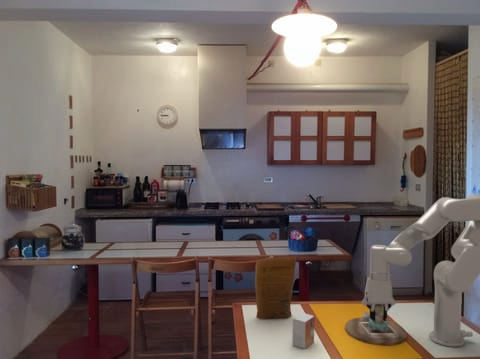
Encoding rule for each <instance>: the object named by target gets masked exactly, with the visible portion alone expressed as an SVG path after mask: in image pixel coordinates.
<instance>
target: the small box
mask: <svg viewBox="0 0 480 359" xmlns="http://www.w3.org/2000/svg"><path fill="white" fill-rule="evenodd" d="M315 320H316V317H315V316H314V315H312V314H308V313H305V312H301V313H300V314H299V315H297V316H296V317H293V318H292V346H295V347H298V348H299V349H306V348H308V347H310V345H312V344H314V343H315V324H316V323H315Z"/></svg>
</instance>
